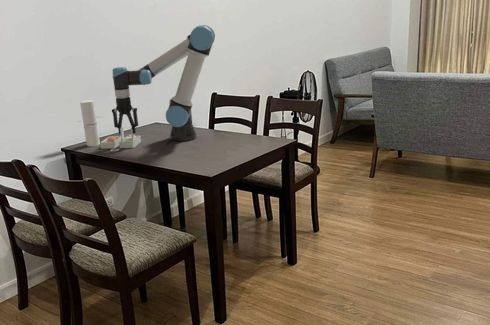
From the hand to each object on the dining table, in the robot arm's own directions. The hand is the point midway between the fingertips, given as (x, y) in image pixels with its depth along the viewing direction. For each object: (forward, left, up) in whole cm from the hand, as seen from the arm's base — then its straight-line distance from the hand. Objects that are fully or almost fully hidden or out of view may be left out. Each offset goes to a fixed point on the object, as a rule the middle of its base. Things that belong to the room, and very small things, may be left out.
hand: (128, 139), depth 265 cm
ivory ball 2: (0, -6, -4) cm, 7 cm away
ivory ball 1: (0, 0, -4) cm, 4 cm away
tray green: (0, -3, -4) cm, 5 cm away
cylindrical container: (+22, -5, -4) cm, 23 cm away
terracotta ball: (+10, -3, -4) cm, 11 cm away
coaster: (+5, +8, -4) cm, 10 cm away
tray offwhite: (+10, -3, -4) cm, 12 cm away
